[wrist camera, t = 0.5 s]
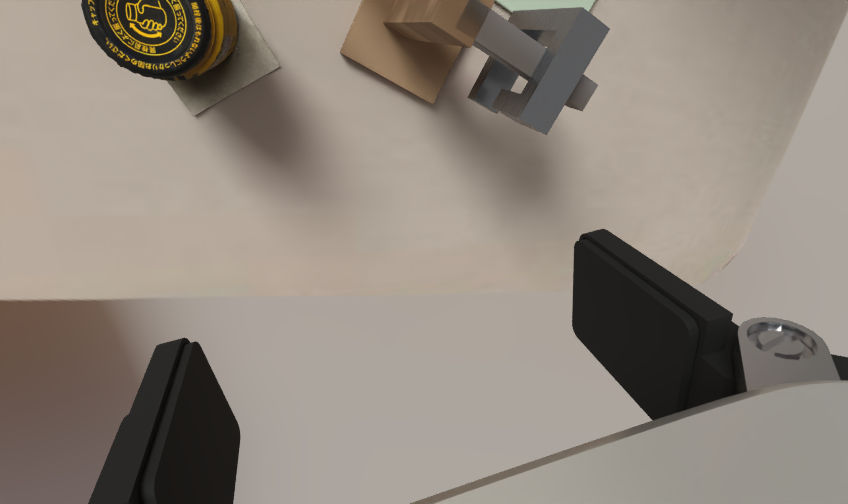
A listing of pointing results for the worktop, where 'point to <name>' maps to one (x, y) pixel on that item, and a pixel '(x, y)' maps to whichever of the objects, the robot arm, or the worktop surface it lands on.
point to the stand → (441, 43)
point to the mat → (544, 4)
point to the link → (542, 66)
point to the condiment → (183, 44)
